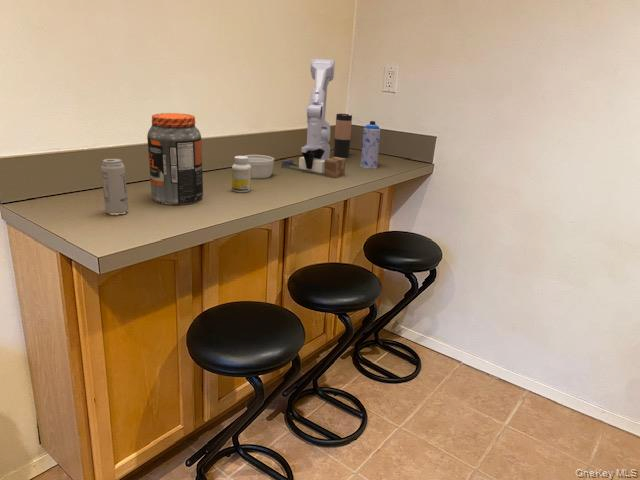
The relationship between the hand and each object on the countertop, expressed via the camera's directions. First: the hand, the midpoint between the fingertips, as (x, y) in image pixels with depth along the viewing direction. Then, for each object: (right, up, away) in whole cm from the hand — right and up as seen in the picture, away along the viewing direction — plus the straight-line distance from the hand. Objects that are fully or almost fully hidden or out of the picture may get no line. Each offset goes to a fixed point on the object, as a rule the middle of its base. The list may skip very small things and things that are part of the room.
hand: (312, 167), depth 202 cm
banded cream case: (+1, -2, 0) cm, 2 cm away
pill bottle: (-24, -13, -34) cm, 44 cm away
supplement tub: (-42, -17, -48) cm, 66 cm away
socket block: (+9, -4, -5) cm, 11 cm away
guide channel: (-2, -1, +2) cm, 3 cm away
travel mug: (+13, +11, +35) cm, 39 cm away
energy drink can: (-54, -23, -65) cm, 87 cm away
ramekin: (-22, -5, -12) cm, 25 cm away
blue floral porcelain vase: (+25, +3, +16) cm, 30 cm away
